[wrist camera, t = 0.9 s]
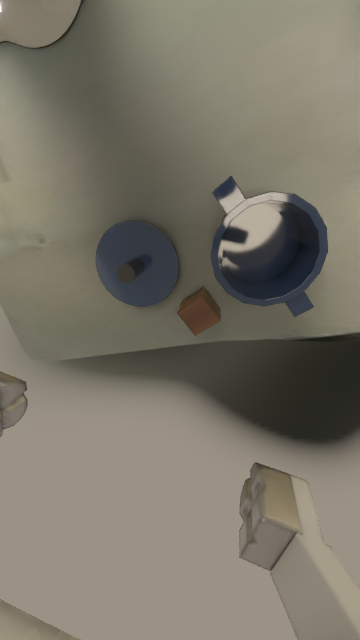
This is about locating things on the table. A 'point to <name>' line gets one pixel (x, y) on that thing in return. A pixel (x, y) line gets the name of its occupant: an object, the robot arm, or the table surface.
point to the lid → (137, 263)
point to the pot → (268, 247)
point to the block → (199, 311)
